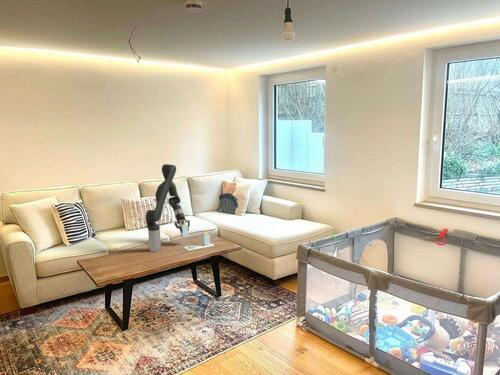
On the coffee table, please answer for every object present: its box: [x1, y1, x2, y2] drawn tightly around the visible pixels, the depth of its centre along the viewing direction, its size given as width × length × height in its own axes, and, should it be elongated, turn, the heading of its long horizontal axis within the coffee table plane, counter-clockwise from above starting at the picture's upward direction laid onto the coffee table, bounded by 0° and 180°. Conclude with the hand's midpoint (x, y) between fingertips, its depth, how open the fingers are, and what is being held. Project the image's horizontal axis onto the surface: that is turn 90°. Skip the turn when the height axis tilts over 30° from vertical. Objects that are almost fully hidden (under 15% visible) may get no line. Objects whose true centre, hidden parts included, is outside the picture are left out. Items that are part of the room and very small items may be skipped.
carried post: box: [180, 223, 189, 237], centre depth 323 cm, size 5×5×10 cm
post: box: [201, 232, 211, 246], centre depth 318 cm, size 5×5×10 cm
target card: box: [183, 242, 215, 251], centre depth 315 cm, size 23×12×1 cm, turn 120°
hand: (185, 231), depth 322 cm, fingers closed on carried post, 5 cm apart
